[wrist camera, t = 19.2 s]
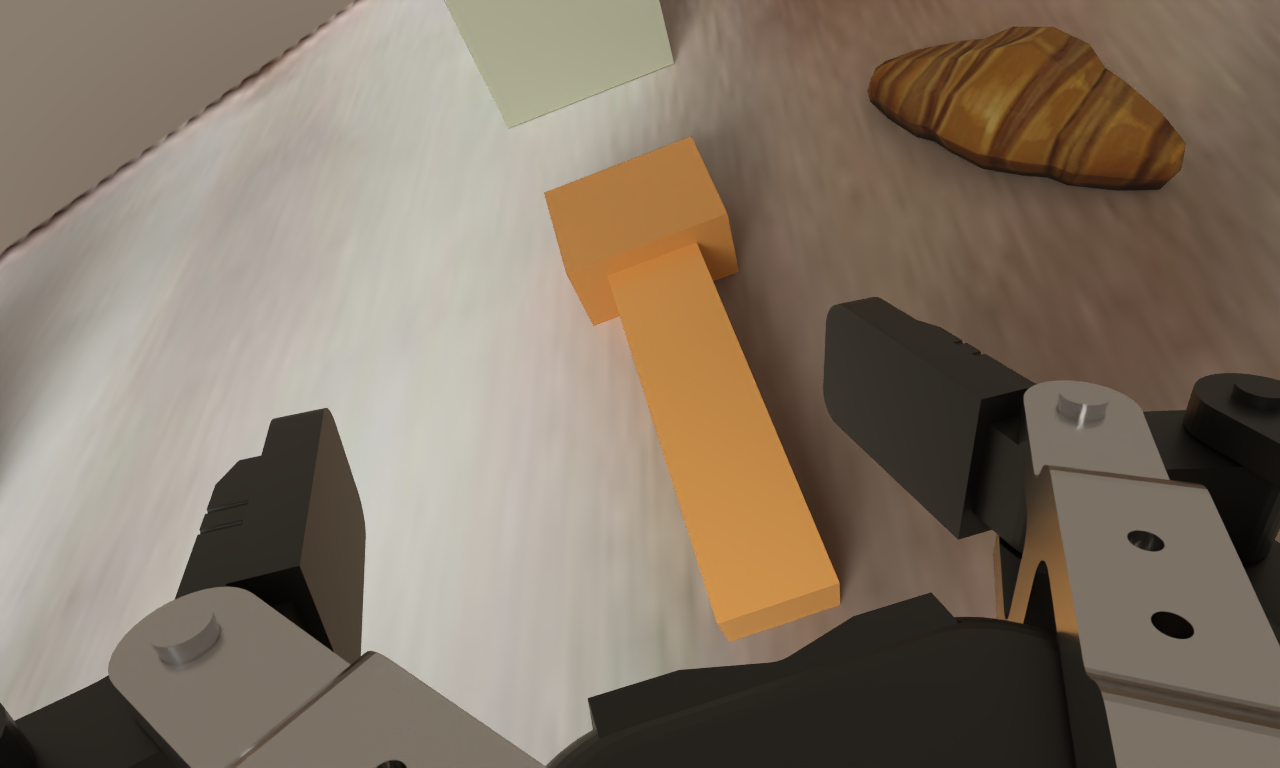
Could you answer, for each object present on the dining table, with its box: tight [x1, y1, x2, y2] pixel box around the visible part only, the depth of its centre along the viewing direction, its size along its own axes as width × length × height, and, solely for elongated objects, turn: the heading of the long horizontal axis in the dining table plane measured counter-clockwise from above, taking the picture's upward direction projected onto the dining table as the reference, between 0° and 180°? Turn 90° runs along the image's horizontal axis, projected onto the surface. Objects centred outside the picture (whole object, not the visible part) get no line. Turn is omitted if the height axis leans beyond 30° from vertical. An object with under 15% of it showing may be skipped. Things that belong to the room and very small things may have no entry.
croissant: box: [868, 27, 1186, 190], centre depth 31 cm, size 14×7×5 cm, turn 51°
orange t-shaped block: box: [544, 136, 840, 642], centre depth 29 cm, size 20×7×4 cm, turn 15°
